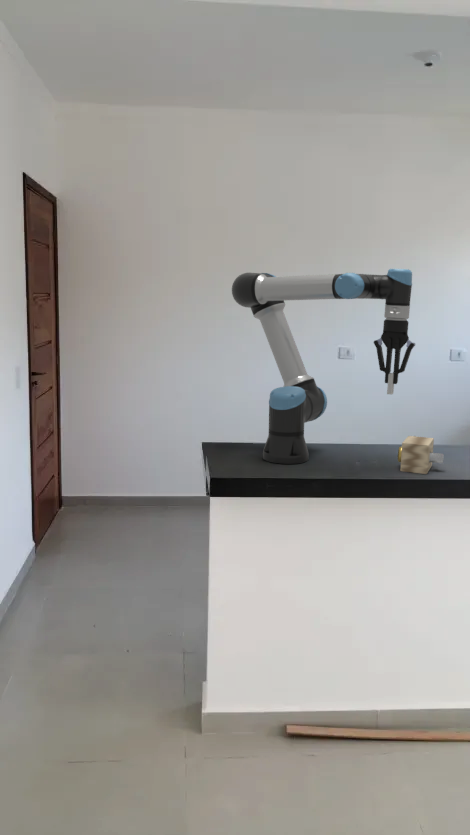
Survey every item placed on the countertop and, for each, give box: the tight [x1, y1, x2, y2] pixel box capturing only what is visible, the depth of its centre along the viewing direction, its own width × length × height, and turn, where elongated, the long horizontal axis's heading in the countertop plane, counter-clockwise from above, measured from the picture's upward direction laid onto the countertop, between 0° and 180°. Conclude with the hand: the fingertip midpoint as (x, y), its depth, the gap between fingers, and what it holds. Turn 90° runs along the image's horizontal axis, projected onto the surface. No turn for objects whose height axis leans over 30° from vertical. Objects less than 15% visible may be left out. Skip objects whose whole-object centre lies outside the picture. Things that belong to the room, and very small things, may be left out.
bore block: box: [400, 435, 435, 475], centre depth 220 cm, size 8×12×9 cm, turn 157°
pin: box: [397, 445, 444, 464], centre depth 220 cm, size 14×5×5 cm, turn 67°
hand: (390, 393), depth 222 cm, fingers closed
